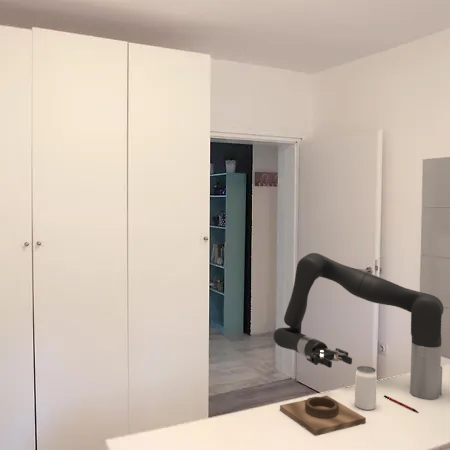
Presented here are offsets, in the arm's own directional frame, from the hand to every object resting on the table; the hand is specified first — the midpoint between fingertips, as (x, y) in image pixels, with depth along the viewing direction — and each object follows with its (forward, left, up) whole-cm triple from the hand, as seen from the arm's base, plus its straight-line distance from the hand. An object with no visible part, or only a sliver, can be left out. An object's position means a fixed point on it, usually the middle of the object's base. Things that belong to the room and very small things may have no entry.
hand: (341, 363), depth 166 cm
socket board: (+17, +12, -10) cm, 23 cm away
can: (0, +12, -10) cm, 16 cm away
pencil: (-12, +16, -11) cm, 22 cm away
